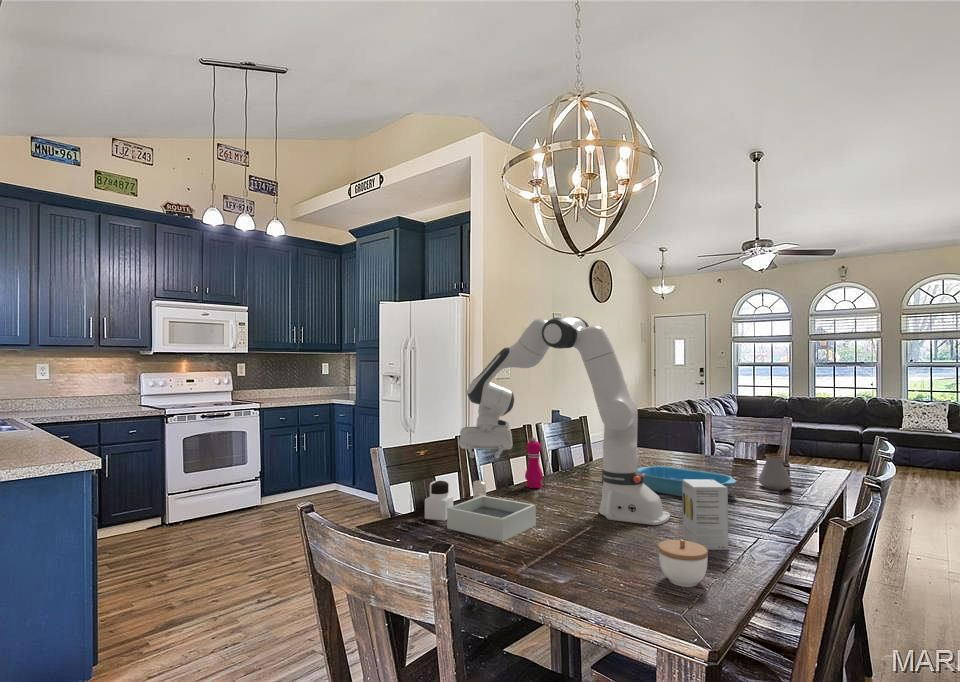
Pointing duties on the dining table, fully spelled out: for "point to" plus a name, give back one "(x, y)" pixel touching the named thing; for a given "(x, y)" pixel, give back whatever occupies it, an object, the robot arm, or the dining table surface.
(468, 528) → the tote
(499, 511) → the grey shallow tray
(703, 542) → the supplement box
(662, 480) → the casserole dish
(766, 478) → the coffee pot
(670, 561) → the lidded jar
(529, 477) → the pepper mill
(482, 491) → the tin can
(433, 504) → the medicine bottle
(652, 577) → the dining table surface
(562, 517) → the dining table surface
